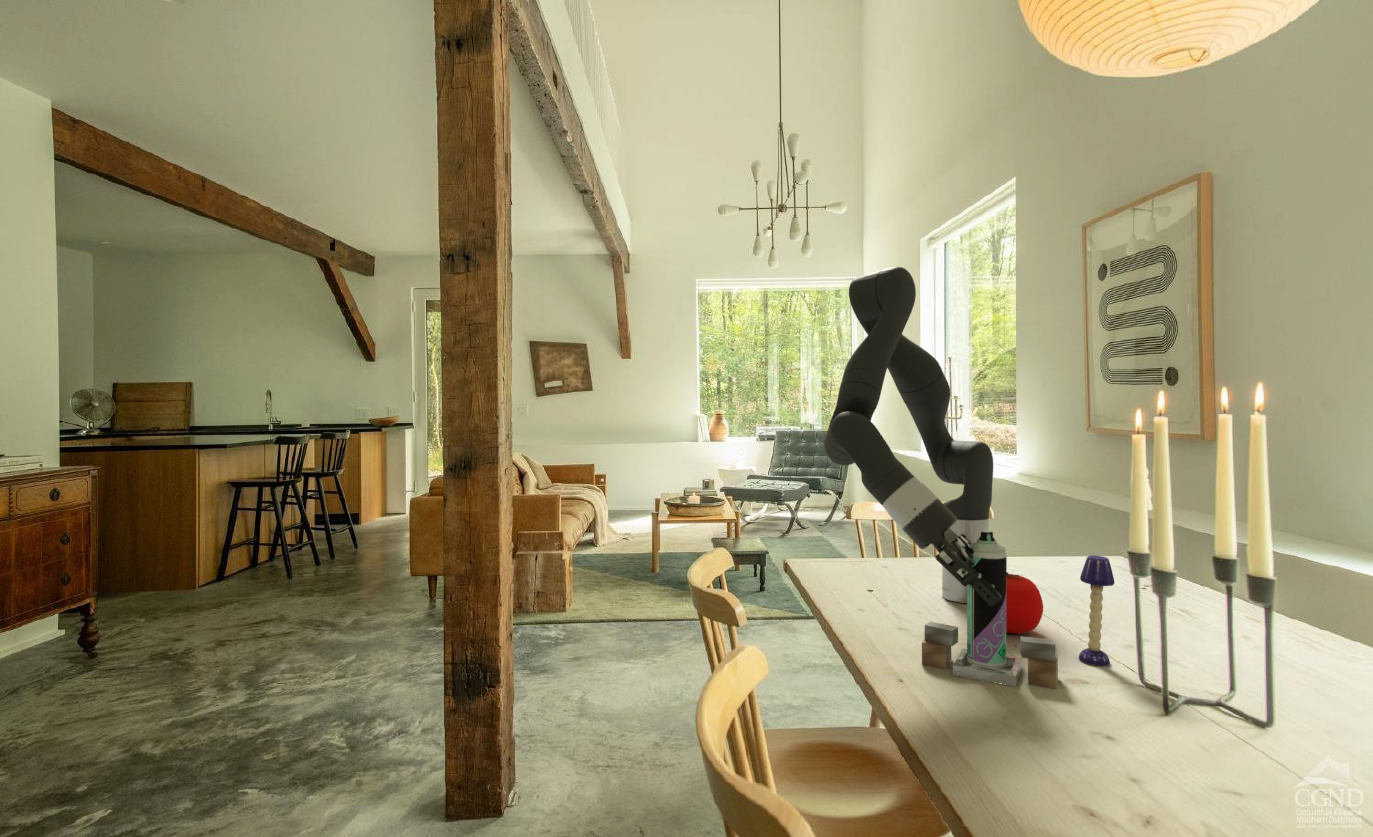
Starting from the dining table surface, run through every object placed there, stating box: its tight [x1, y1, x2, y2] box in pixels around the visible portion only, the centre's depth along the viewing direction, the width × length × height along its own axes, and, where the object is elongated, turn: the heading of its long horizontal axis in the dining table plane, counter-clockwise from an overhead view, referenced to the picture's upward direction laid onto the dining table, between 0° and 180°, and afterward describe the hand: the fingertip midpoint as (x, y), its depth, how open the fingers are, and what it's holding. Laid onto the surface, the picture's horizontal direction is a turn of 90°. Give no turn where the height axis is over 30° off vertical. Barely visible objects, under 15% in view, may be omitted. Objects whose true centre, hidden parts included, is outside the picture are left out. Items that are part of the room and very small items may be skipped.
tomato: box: [1006, 572, 1044, 634], centre depth 124 cm, size 12×12×10 cm
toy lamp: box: [1078, 554, 1115, 667], centre depth 108 cm, size 5×5×17 cm
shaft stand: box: [921, 620, 1059, 690], centre depth 105 cm, size 19×4×6 cm, turn 59°
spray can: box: [966, 531, 1008, 670], centre depth 105 cm, size 6×6×20 cm
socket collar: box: [952, 647, 1023, 688], centre depth 105 cm, size 9×9×2 cm
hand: (999, 597), depth 104 cm, fingers closed on spray can, 5 cm apart
